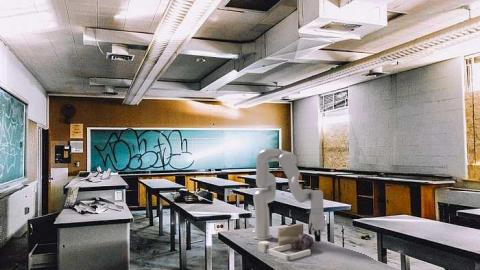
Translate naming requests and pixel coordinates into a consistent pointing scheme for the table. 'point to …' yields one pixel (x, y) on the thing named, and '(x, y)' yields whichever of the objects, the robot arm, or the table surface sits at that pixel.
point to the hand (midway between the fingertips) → (317, 241)
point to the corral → (277, 253)
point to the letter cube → (263, 246)
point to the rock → (304, 242)
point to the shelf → (289, 234)
